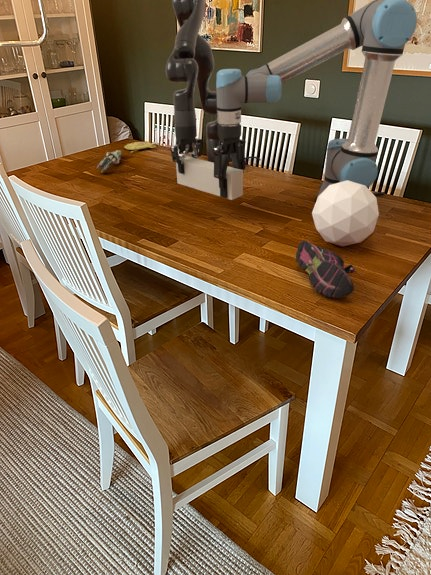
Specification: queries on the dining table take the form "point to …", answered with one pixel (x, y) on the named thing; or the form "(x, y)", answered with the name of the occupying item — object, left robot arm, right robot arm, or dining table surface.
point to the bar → (209, 178)
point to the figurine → (110, 160)
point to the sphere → (345, 213)
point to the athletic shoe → (325, 270)
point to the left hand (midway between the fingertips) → (188, 171)
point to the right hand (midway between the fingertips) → (230, 194)
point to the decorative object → (139, 146)
